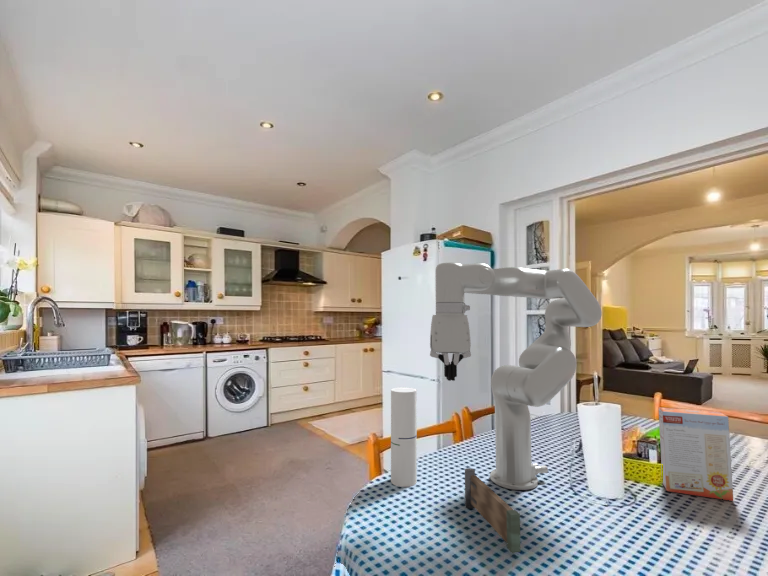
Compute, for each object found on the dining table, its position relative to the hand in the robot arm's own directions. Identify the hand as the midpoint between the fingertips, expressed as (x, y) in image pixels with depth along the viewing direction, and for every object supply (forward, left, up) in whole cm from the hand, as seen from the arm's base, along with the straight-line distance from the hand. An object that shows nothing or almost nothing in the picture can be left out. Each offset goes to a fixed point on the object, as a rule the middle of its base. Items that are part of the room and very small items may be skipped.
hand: (450, 379), depth 104 cm
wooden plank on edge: (-2, +18, -28) cm, 34 cm away
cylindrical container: (+10, -10, -29) cm, 33 cm away
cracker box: (-63, +12, -29) cm, 71 cm away
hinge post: (-2, +7, -29) cm, 30 cm away
